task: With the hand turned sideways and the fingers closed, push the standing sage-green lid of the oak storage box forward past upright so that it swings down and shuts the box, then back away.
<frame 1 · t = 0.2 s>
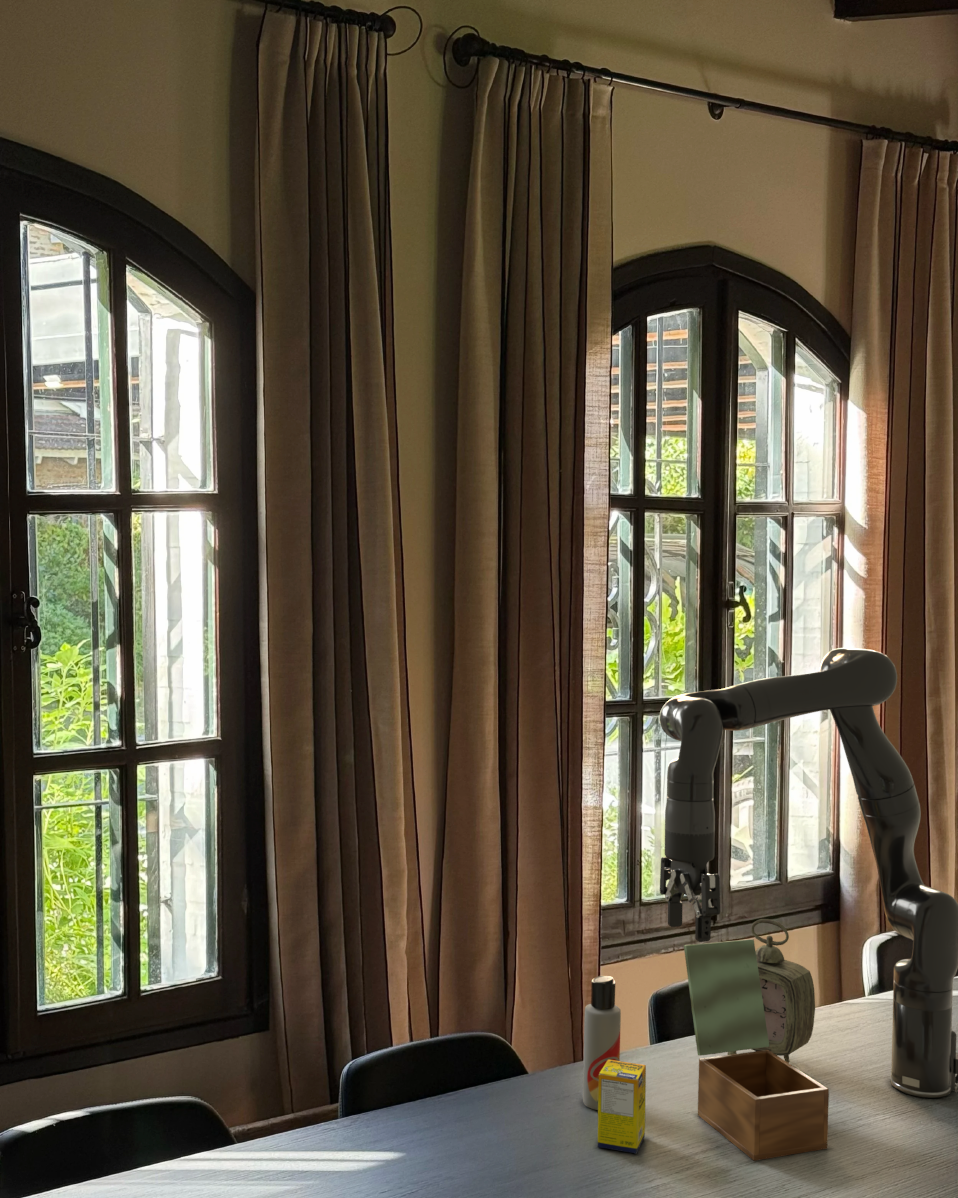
hand: (688, 933, 181), 29 cm above the table, tool pointing down, fingers open, 8 cm apart
box lid: (726, 996, 188), point 17 cm above the table, hinge at 108.1°
supplement box: (621, 1144, 174), on the table
box: (760, 1131, 179), on the table
tabletop clock: (767, 1064, 205), on the table
lotion bottle: (600, 1104, 187), on the table
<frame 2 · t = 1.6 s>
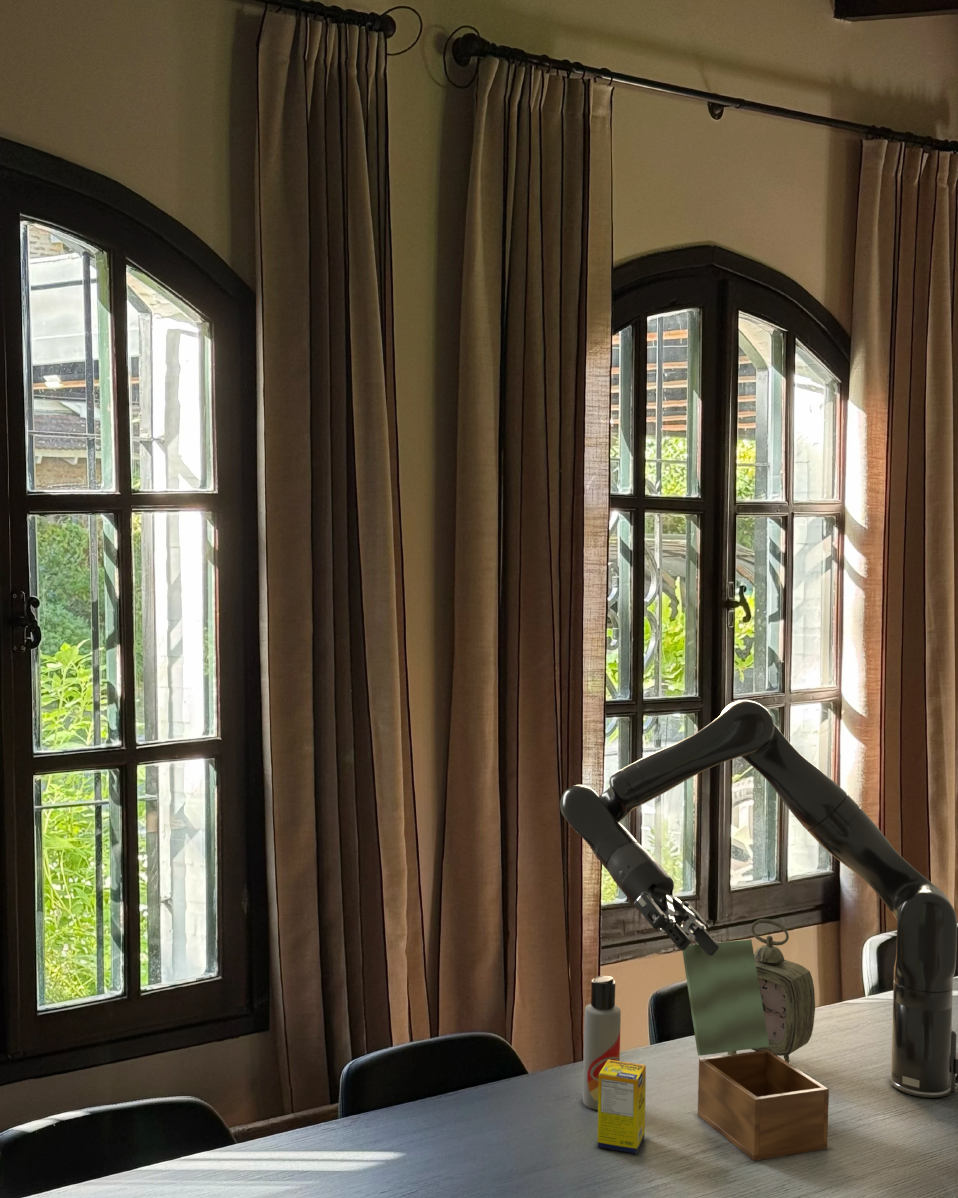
hand: (700, 949, 184), 26 cm above the table, tool tilted 60°, fingers open, 8 cm apart
box lid: (725, 996, 189), point 17 cm above the table, hinge at 110.5°, touching gripper
everything else where it was.
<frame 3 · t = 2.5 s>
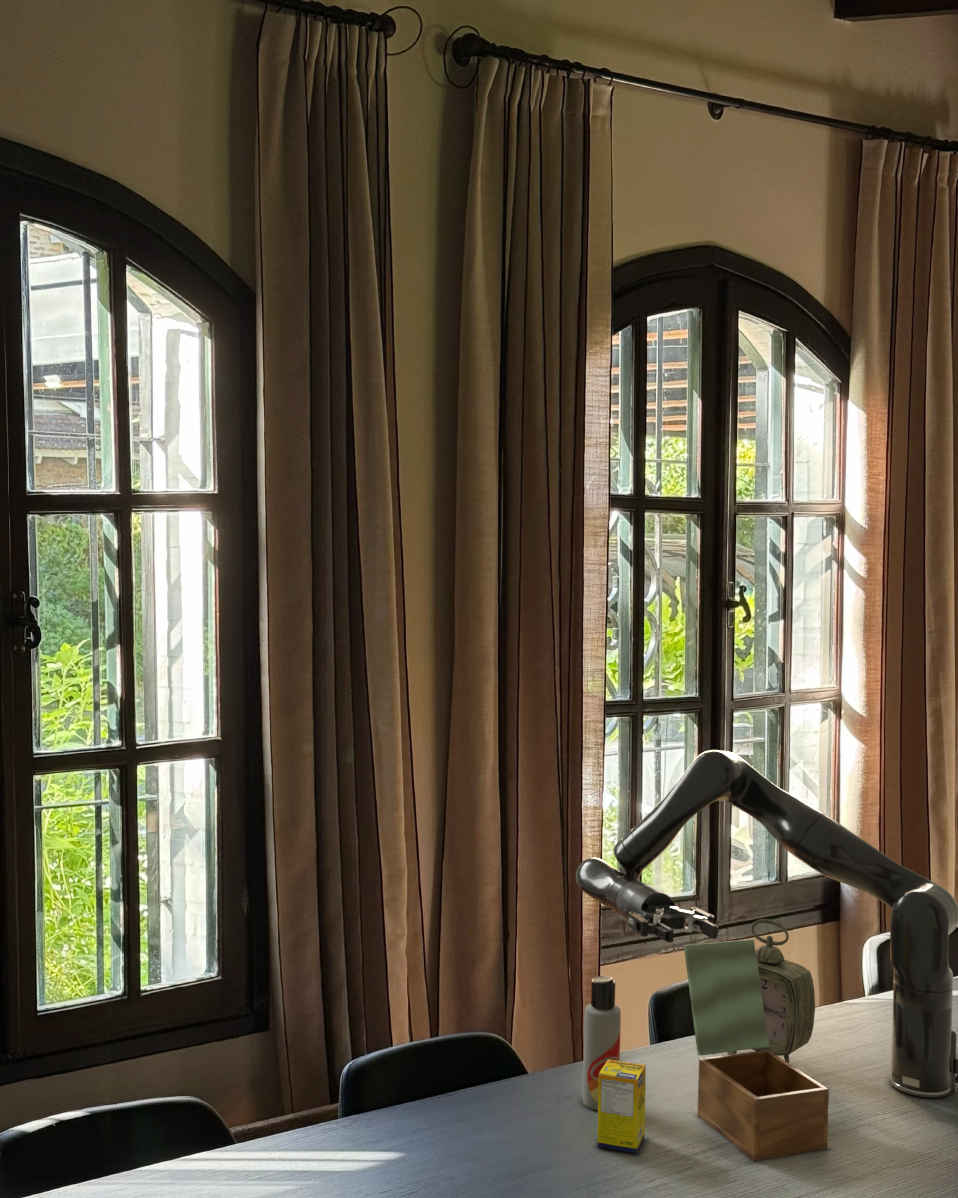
hand: (693, 935, 197), 24 cm above the table, tool horizontal, fingers open, 8 cm apart
box lid: (726, 996, 188), point 17 cm above the table, hinge at 108.1°
everything else where it was.
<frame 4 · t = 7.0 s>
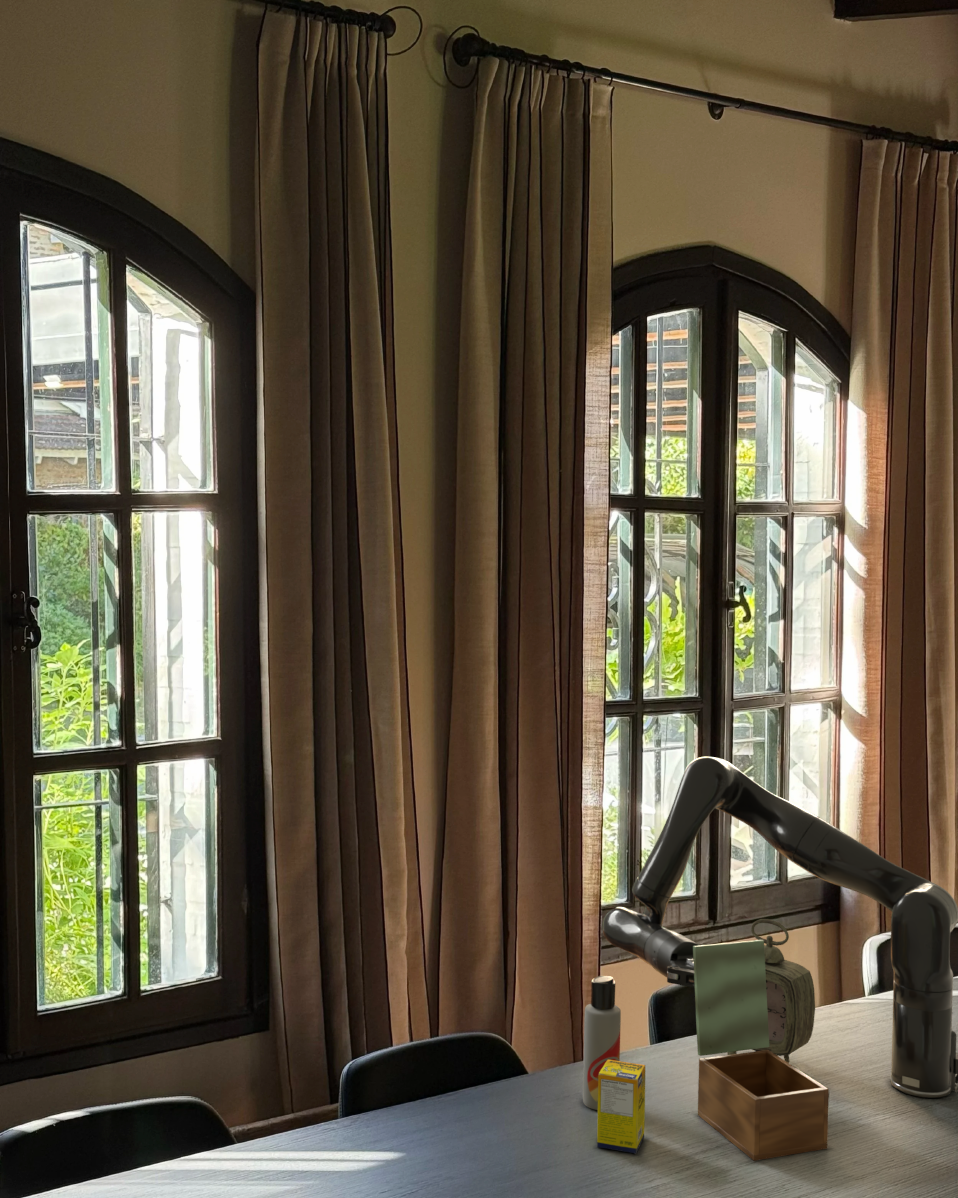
hand: (729, 988, 188), 19 cm above the table, tool horizontal, fingers closed
box lid: (731, 996, 187), point 17 cm above the table, hinge at 97.9°, touching gripper
everything else where it was.
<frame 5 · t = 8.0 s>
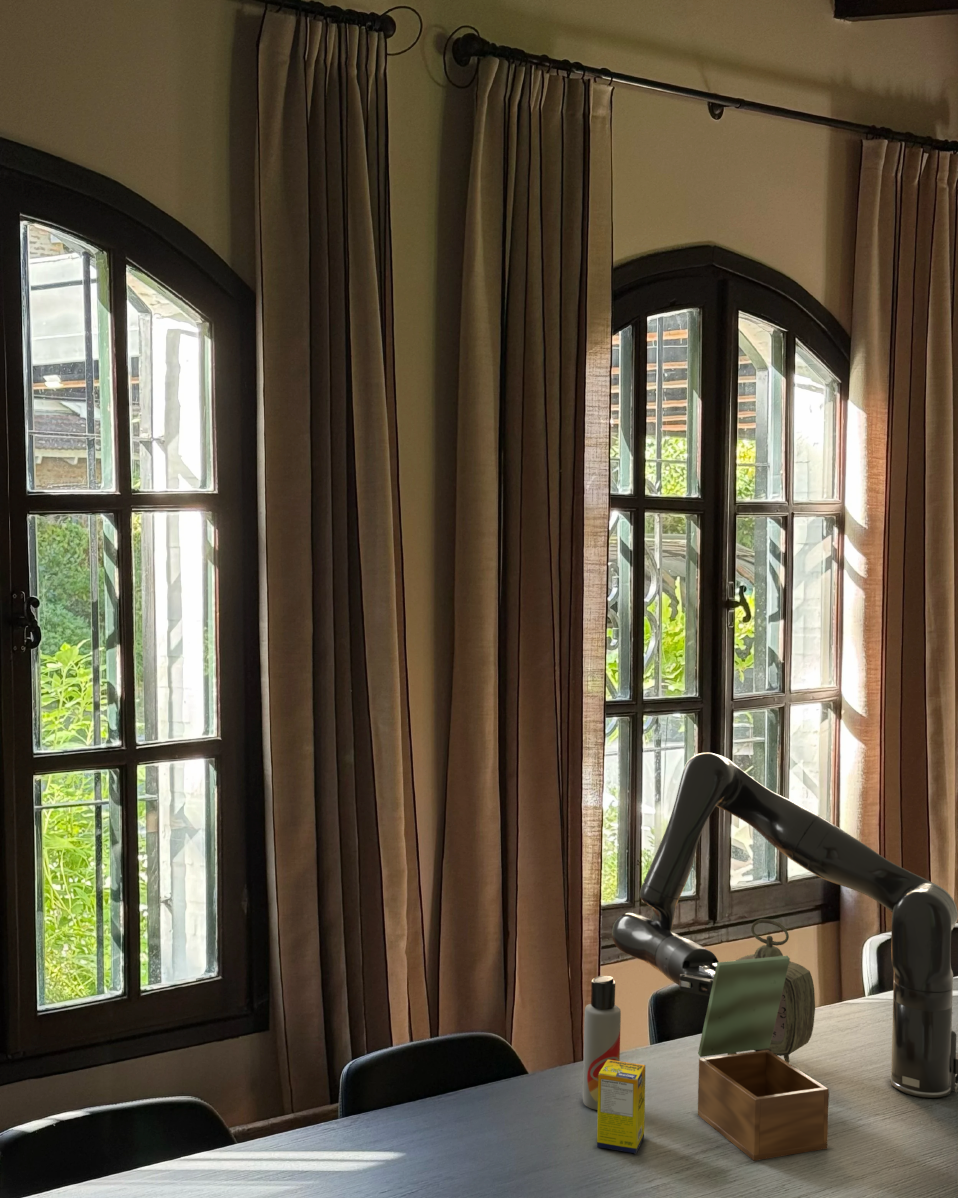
hand: (743, 997, 184), 18 cm above the table, tool horizontal, fingers closed
box lid: (743, 1006, 184), point 17 cm above the table, hinge at 72.8°, touching gripper
everything else where it was.
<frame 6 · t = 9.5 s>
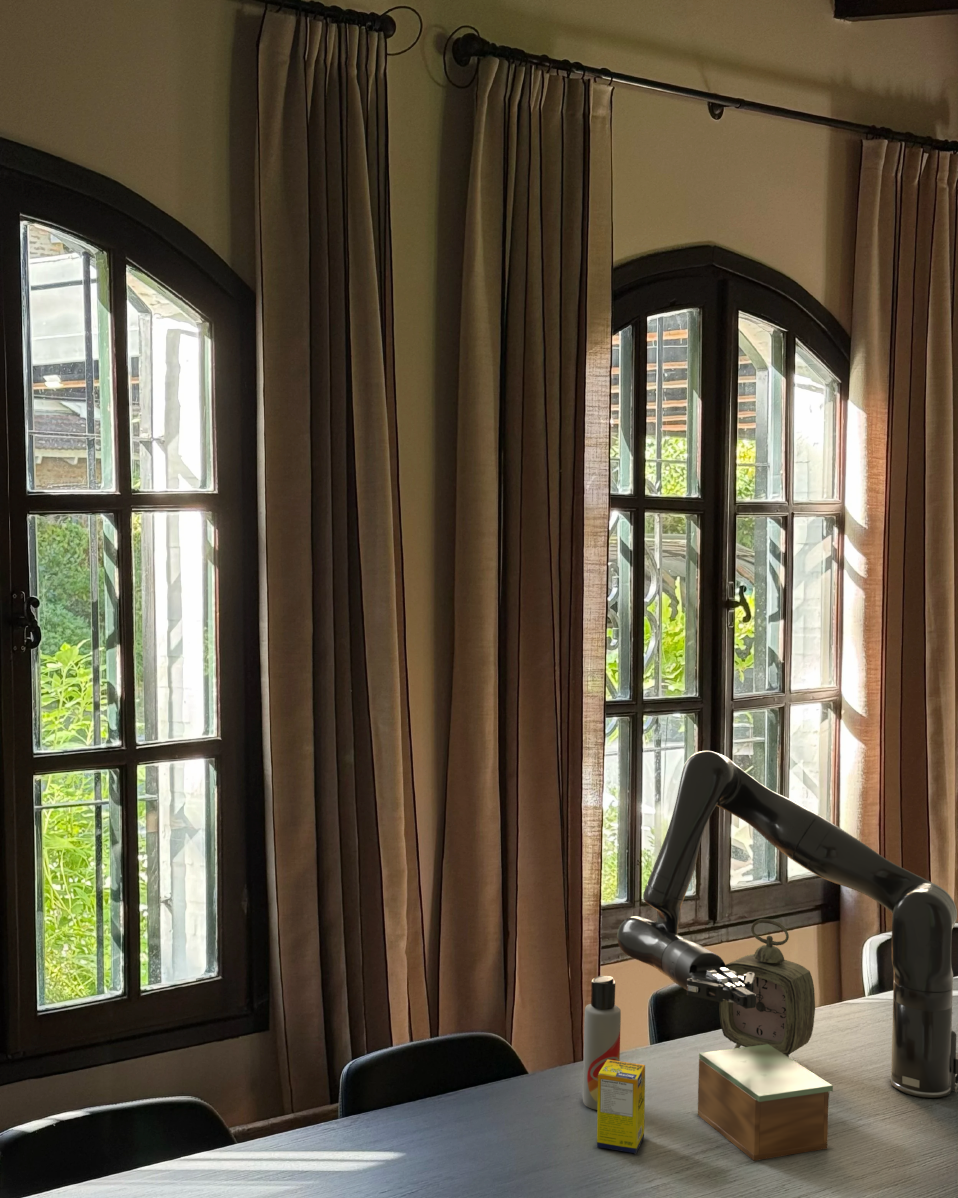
hand: (751, 1002, 182), 18 cm above the table, tool horizontal, fingers closed
box lid: (763, 1071, 178), point 9 cm above the table, hinge at -0.1°
everything else where it was.
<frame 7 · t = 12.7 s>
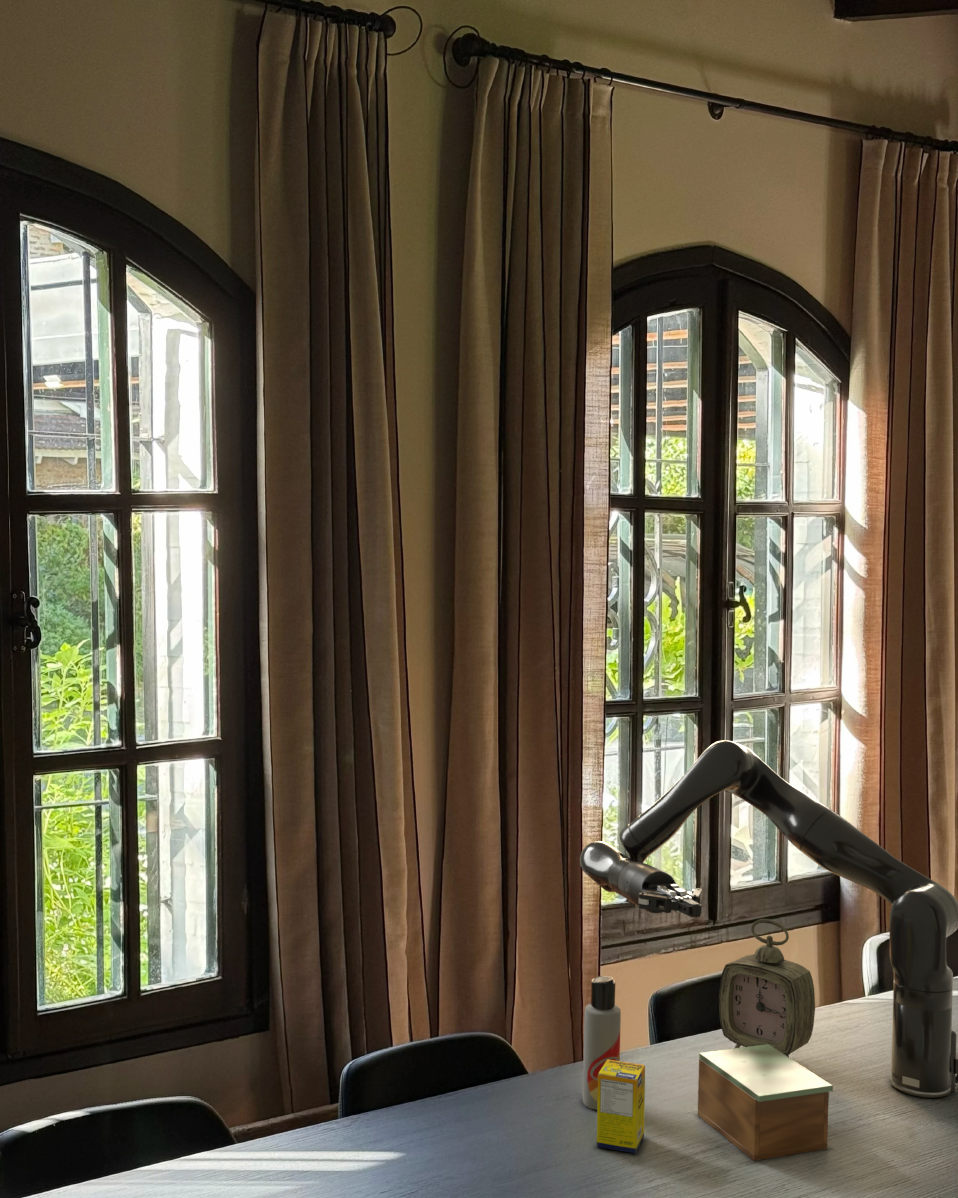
hand: (696, 911, 197), 28 cm above the table, tool horizontal, fingers closed
nothing on the table moved.
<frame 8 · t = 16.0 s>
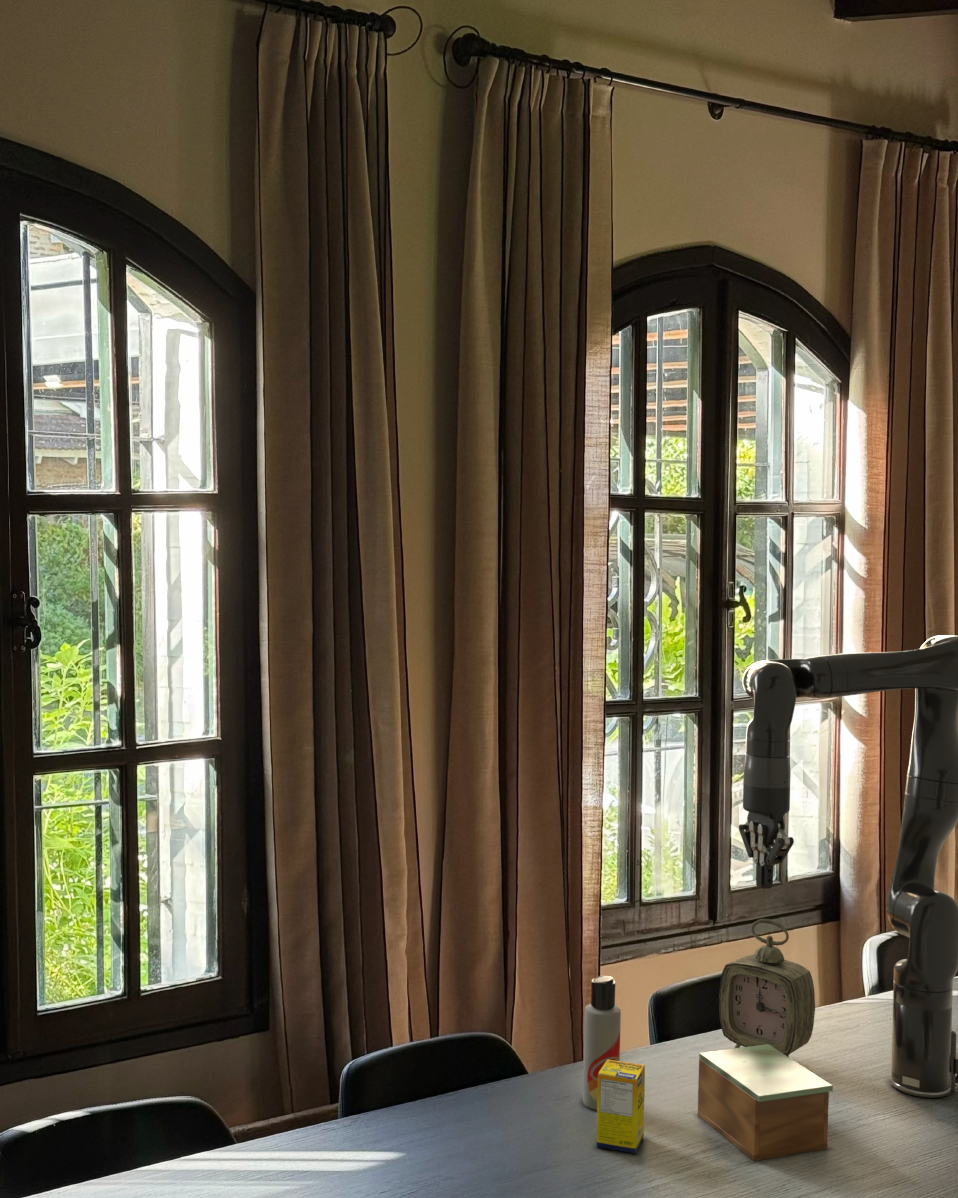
hand: (764, 887, 195), 33 cm above the table, tool pointing down, fingers closed
nothing on the table moved.
at the end: box lid at +0° (first picture: +108°); lotion bottle moved 0.2 cm from its start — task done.
